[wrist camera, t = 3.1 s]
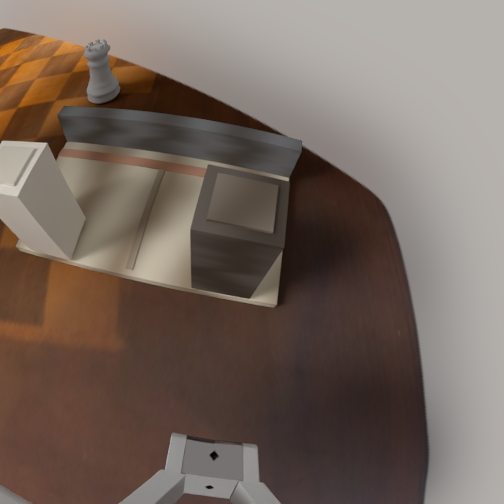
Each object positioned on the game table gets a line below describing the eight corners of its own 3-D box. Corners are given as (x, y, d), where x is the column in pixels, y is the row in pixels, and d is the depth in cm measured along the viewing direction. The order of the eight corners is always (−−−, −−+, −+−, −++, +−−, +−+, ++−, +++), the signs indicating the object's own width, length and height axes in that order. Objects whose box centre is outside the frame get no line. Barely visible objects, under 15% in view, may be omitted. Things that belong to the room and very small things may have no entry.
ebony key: (191, 288, 23) (190, 227, 14) (201, 241, 24) (208, 161, 15) (249, 299, 23) (285, 246, 14) (256, 251, 25) (290, 179, 16)
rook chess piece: (111, 81, 32) (104, 32, 25) (127, 93, 32) (121, 41, 25) (82, 97, 31) (71, 47, 23) (97, 110, 30) (85, 57, 23)
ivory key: (31, 250, 21) (-28, 187, 12) (47, 210, 23) (1, 138, 14) (70, 260, 22) (15, 194, 13) (86, 218, 23) (46, 141, 14)
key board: (20, 250, 22) (-6, 226, 18) (75, 138, 28) (64, 106, 23) (273, 307, 25) (291, 290, 20) (287, 173, 30) (302, 140, 26)
